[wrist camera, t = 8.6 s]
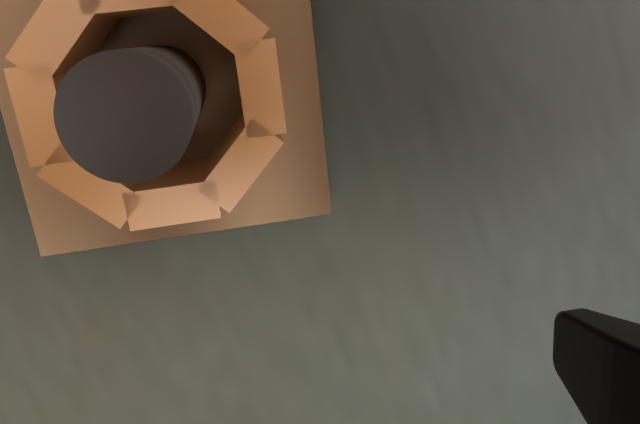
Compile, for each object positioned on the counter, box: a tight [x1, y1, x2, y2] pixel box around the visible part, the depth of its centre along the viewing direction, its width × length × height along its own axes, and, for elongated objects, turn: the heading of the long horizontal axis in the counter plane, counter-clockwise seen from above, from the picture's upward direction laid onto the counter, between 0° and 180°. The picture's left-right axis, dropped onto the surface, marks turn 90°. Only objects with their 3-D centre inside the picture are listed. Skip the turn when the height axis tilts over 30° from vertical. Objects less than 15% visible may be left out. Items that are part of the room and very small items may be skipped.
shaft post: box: [0, 0, 332, 257], centre depth 14 cm, size 9×9×8 cm
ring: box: [3, 0, 287, 231], centre depth 15 cm, size 6×6×3 cm
